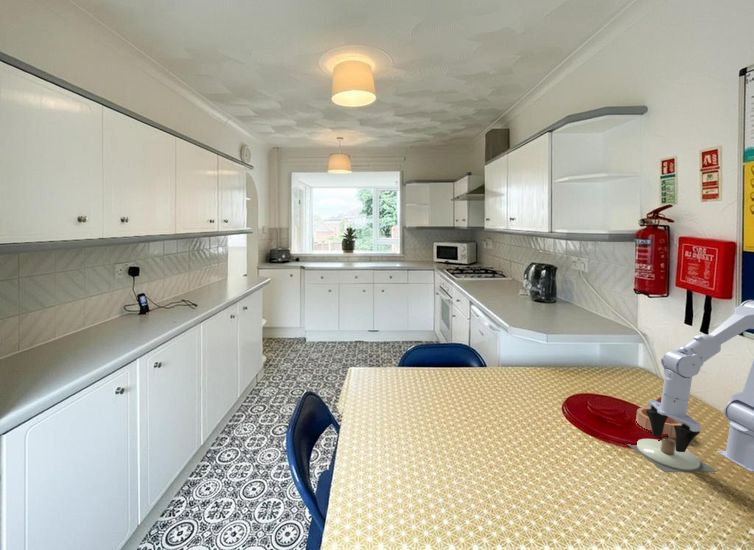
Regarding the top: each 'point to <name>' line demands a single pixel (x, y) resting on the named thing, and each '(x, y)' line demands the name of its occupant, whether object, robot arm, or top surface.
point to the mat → (664, 468)
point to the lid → (667, 454)
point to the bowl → (645, 423)
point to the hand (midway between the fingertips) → (668, 443)
